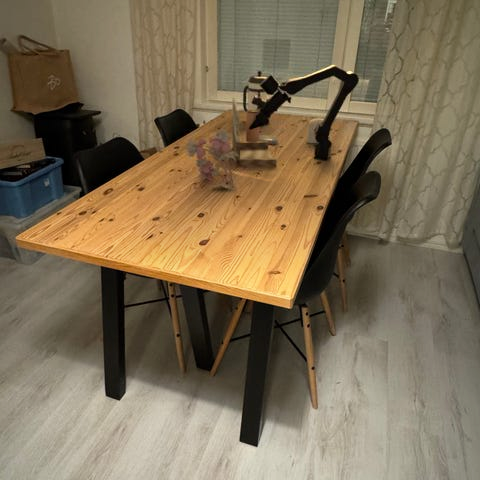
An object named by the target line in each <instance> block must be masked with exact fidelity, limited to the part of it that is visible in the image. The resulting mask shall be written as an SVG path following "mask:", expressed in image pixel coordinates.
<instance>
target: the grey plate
mask: <svg viewBox="0 0 480 480" xmlns="http://www.w3.org/2000/svg"><path fill="white" fill-rule="evenodd" d="M259 141H268V146H276V145H278V144H279V138H278V137H277V136H275V135H267V134H266V135H263V134H262V135H259Z"/></svg>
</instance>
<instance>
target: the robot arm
mask: <svg viewBox="0 0 480 480" xmlns="http://www.w3.org/2000/svg"><path fill="white" fill-rule="evenodd" d="M331 77H335V78H337V79H338V80H339V81H341V82H340V84H339V85H340V86H339V89H338V91H337V94H336V96H335V98H334V99H333V102H332V104H331V105H330V107H329V109H328V111H327V113H326V115H325V116H324V118H323V119H324V120H323V121H322V122H321V123H317V126H316V128H315V129H314V137H315V140H316V141H317V142H318V143H316V146H315V148H314V156H313V158H314V159H317V160H322V161H328V160H329V159H330V158H332V156H331V152H332V151H331V150H332V146H333V142H332V140H331V138H330V134H331V129H332V125H333V124H334V121H335V119H336V118H337V115H338V113H339V112H340V110H341V108H342V106H343V105H344V103H345V101H346V99H347V97H348V96H349V95H350V93H352V92H353V90H354V89H355V88H356V86H357V85H358V84H359V81H360V79H359V76H358V74H356V73H355V72H354V71H349V70H348V71H346V70H344V69H342V68H339V67H338V66H336V64H332V65H330V66H328V67H324V68H323V69H320V70H318V71H315V72H313V73H310V74H308V75H305V76H301V77H293V78H289V79H287V80H286V81H283V82H278V80H277V79H275V77H274V76H273V74H269V75H268V76H267V78H266V79H264V80H263V81H262V82H261V84H260V85H259V86H260V87H261V88H262V89H263V90H264V91H265V92H266V93H267V95H269V96H270V95H271V97H269V99H267V100H264V99H262V98H260V97H258V96H256V95H254V97H253V99H252V102H251V103H252V104H254V105H257V109H258V108H259V109H258V111H259V112H258V113H257V114H256V119H255V120H254V121H253V123H252V124H251V126H250V127H249V129H250V130H252V129H254V128H257V127H259V128H260V127H263V126H268V125H270V124H269V123H270V122H269V121H270V119H271V117H272V115H273V114H274V113H276V112H277V111H278V110H279V109H280V108H281V107H282V106H283V105H284V104H285V103H286V102H288V103H289V104H292V102H291V101H292V96H293V95H296V94H297V93H299V92H301V91H302V90H304V89H305V88H306V87H308V86H311V85H314V84H316V83H319V82H321V81H323V80H326V79H329V78H331ZM289 95H290V96H289ZM257 109H256V110H257Z"/></svg>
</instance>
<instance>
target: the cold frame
mask: <svg viewBox="0 0 480 480" xmlns="http://www.w3.org/2000/svg"><path fill="white" fill-rule="evenodd" d="M235 98H236V97H234V96H232V151H235V152H236V153H237V154H238V155H239V157H240V158H239V157H238V156H234V155H233V156H234V158H235V160H234V163H235V167H236V168H266V167H267V168H268V167H269V168H272V167H273V168H274V167H277V160H278V159H277V158H273V156H272V154H271V151H270V149H269V145H268V141H258V142H247V141H241V139H240V136H239V128H240V126H239V125H240V124H239V117H240V116H239V111H240V110H239V107H238V104H237V101H236V99H235Z"/></svg>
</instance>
